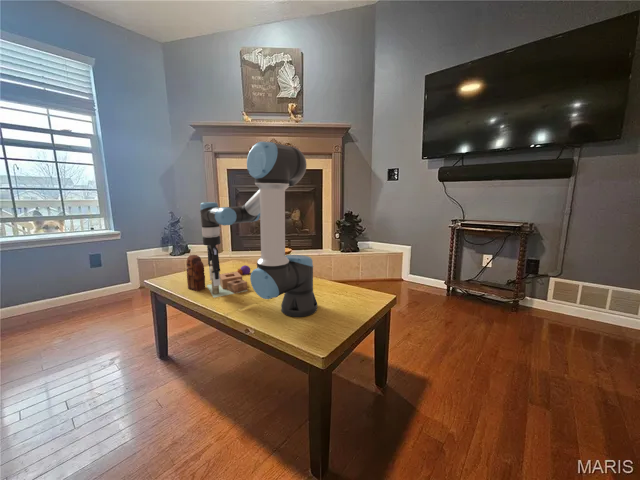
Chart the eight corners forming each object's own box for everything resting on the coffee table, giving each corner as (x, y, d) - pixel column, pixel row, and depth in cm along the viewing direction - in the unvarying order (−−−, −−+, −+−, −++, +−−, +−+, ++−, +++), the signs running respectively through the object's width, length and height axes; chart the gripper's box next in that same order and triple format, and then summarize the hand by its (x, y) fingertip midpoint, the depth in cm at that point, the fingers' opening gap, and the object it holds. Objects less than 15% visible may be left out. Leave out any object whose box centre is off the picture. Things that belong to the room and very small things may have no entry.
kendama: (215, 274, 144) (245, 264, 160) (217, 284, 145) (247, 273, 160) (220, 274, 141) (250, 264, 156) (223, 285, 141) (253, 273, 156)
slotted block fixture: (248, 292, 128) (247, 281, 127) (213, 299, 119) (212, 287, 118) (237, 281, 144) (236, 271, 143) (206, 286, 136) (205, 275, 135)
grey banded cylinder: (220, 293, 124) (217, 261, 121) (213, 295, 122) (210, 262, 119) (218, 291, 126) (216, 259, 124) (211, 292, 125) (209, 260, 122)
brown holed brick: (247, 289, 129) (246, 281, 129) (234, 293, 124) (233, 285, 124) (240, 286, 134) (239, 278, 133) (227, 289, 129) (226, 282, 128)
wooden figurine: (184, 289, 133) (180, 255, 130) (196, 285, 138) (192, 252, 135) (197, 294, 126) (193, 258, 123) (208, 290, 131) (206, 255, 128)
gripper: (225, 238, 112) (228, 287, 116) (215, 232, 130) (218, 275, 134) (206, 240, 108) (210, 291, 112) (199, 233, 127) (203, 277, 130)
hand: (215, 282), depth 123 cm, fingers open, 9 cm apart
